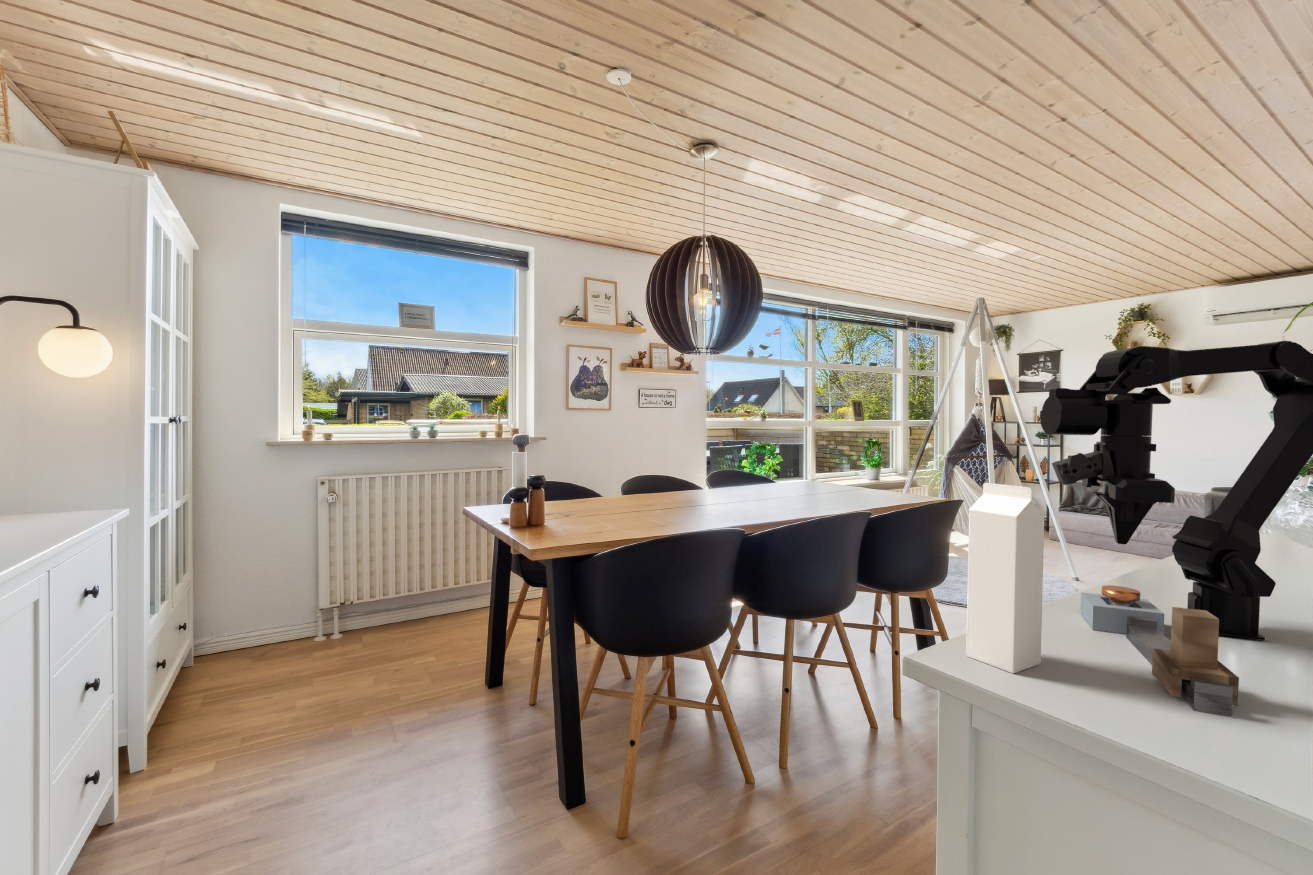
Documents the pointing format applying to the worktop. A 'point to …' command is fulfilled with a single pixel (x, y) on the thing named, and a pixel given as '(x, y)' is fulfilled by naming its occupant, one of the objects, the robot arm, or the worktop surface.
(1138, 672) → the worktop surface
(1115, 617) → the box
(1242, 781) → the worktop surface
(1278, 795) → the worktop surface
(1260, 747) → the worktop surface
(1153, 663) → the carriage
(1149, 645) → the rail
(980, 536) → the milk
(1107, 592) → the button
